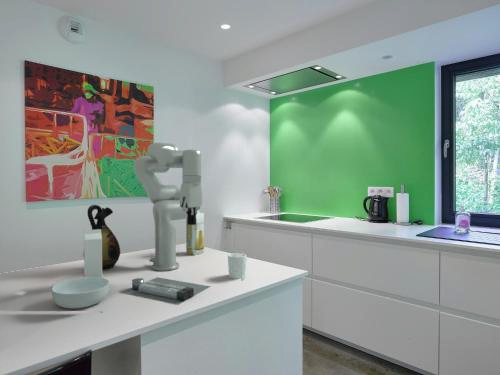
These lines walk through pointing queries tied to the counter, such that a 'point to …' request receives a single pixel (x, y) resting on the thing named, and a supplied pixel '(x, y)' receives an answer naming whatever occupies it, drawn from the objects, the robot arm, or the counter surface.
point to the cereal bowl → (80, 292)
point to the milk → (93, 253)
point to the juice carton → (195, 236)
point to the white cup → (237, 265)
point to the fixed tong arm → (164, 291)
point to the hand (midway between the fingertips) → (191, 224)
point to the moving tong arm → (139, 281)
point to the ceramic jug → (105, 236)
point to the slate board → (130, 291)
